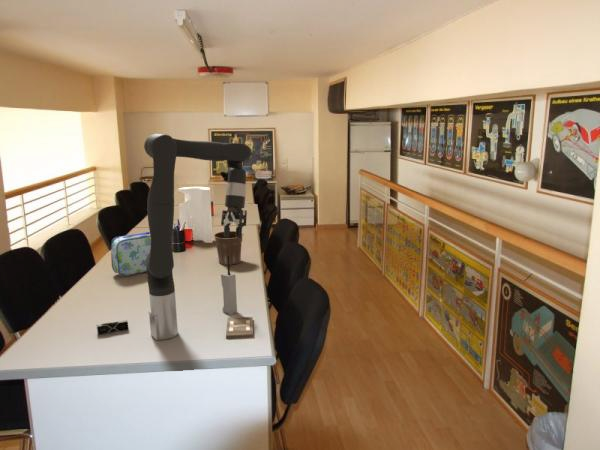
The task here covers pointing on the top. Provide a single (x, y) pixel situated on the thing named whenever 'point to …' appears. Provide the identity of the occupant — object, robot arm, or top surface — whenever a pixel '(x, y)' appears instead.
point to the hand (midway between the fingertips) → (232, 237)
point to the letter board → (239, 327)
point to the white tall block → (197, 212)
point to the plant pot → (228, 248)
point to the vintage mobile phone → (229, 291)
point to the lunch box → (130, 253)
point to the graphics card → (112, 327)
